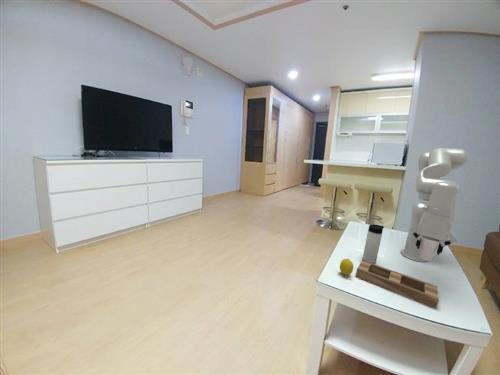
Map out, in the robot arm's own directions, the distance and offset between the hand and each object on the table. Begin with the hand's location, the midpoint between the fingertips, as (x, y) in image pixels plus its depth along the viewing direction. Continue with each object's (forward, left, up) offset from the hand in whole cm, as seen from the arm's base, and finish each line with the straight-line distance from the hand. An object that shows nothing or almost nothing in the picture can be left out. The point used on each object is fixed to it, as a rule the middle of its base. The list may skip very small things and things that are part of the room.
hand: (427, 250), depth 93 cm
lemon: (+19, -27, -16) cm, 37 cm away
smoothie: (0, 0, -4) cm, 4 cm away
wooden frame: (+11, -9, -16) cm, 22 cm away
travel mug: (-4, -21, -16) cm, 27 cm away
